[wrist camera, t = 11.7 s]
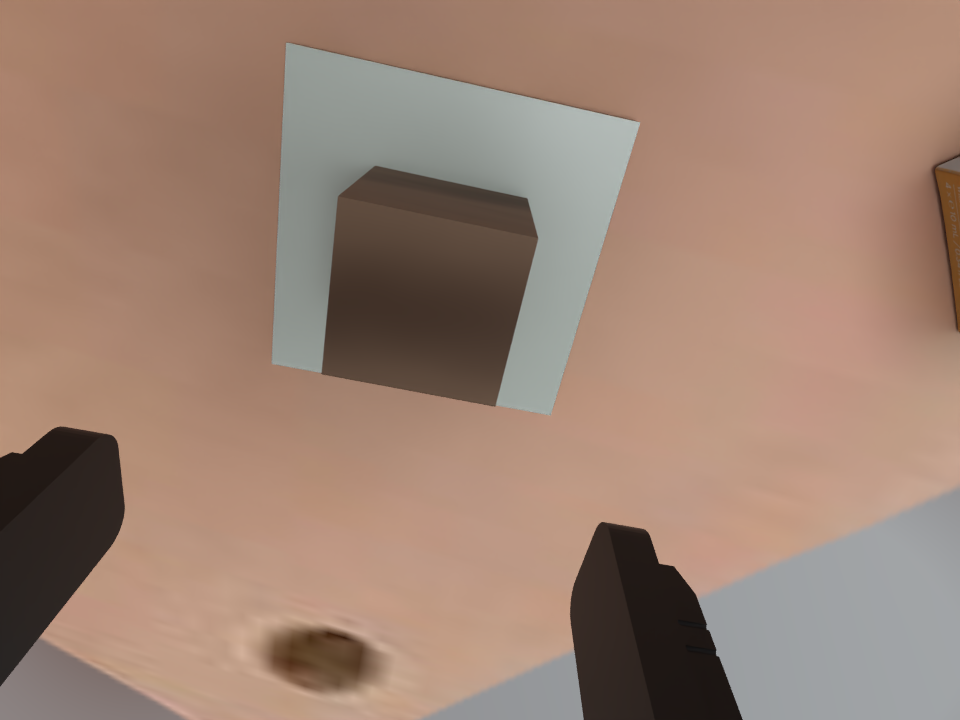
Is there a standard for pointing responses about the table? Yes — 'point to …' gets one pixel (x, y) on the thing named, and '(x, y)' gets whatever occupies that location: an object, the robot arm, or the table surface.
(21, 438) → the table surface
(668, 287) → the table surface
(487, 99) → the pad
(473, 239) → the cube
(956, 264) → the small box
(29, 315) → the table surface
